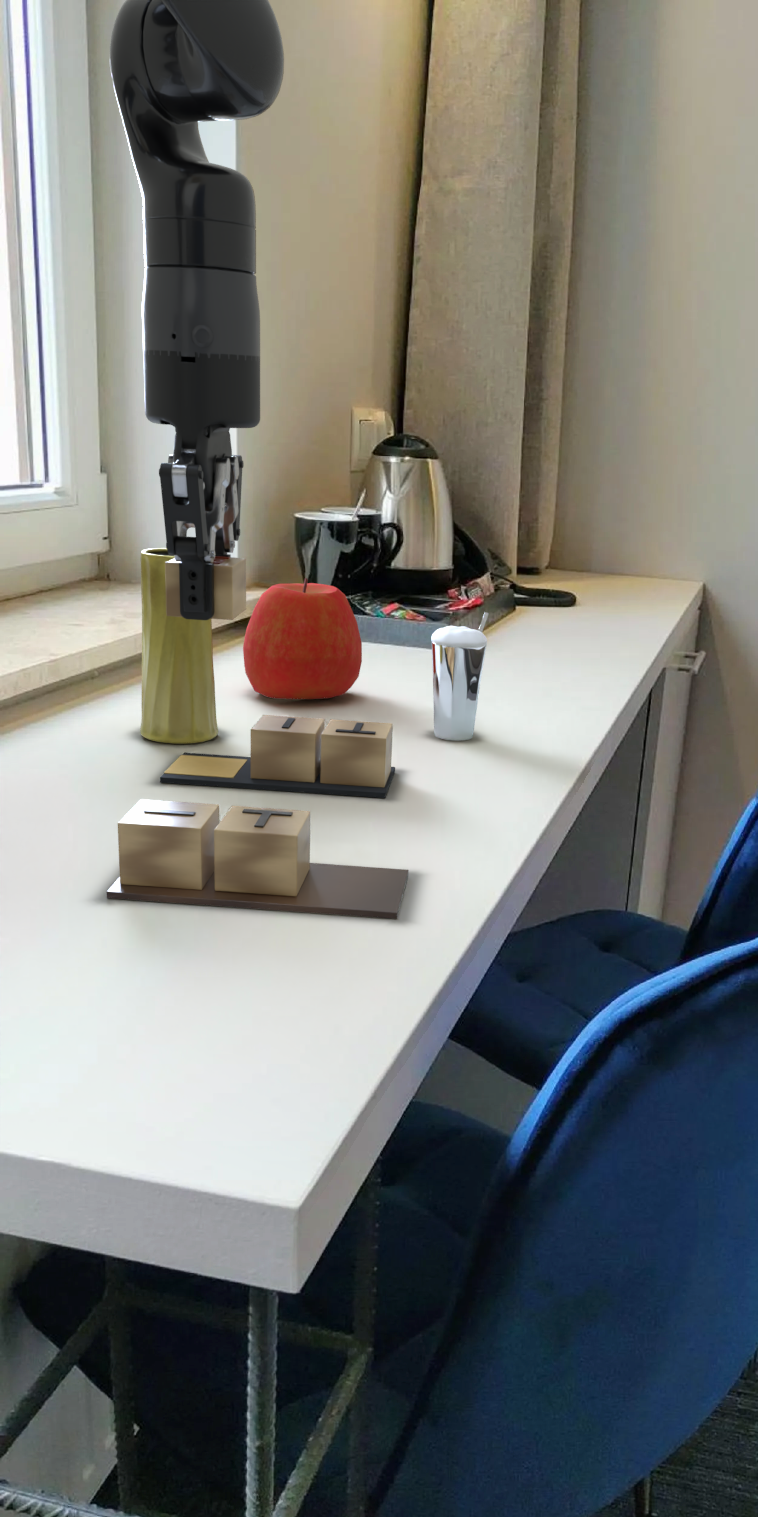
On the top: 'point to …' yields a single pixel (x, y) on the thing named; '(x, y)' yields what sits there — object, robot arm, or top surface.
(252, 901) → the near word
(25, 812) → the top surface
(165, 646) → the vase
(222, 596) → the tile
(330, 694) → the apple
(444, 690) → the milkshake
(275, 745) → the far word
